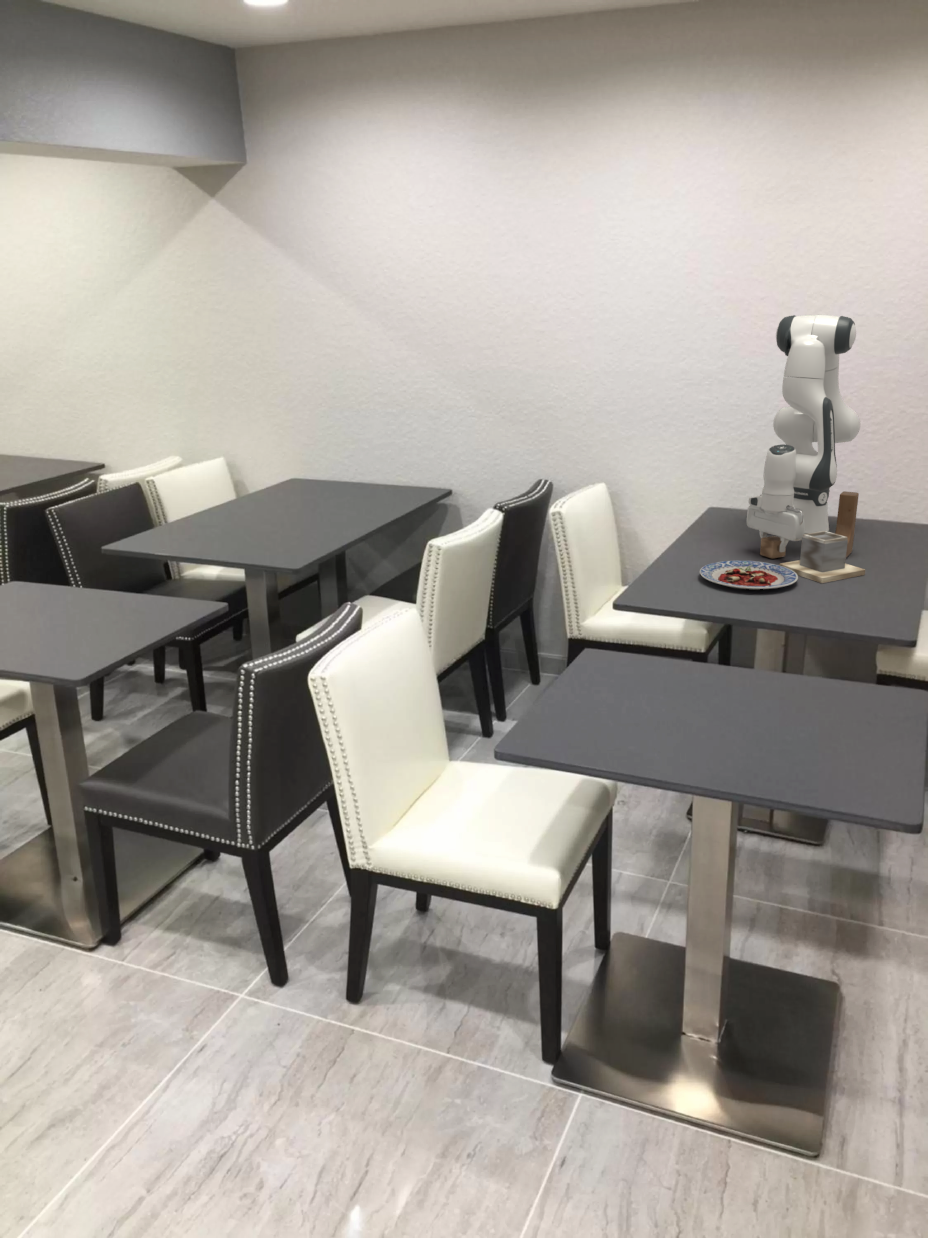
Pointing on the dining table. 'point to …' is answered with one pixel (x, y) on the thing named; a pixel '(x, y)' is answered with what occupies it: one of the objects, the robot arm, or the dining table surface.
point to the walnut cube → (771, 547)
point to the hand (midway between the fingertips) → (773, 548)
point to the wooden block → (847, 517)
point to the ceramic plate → (748, 574)
